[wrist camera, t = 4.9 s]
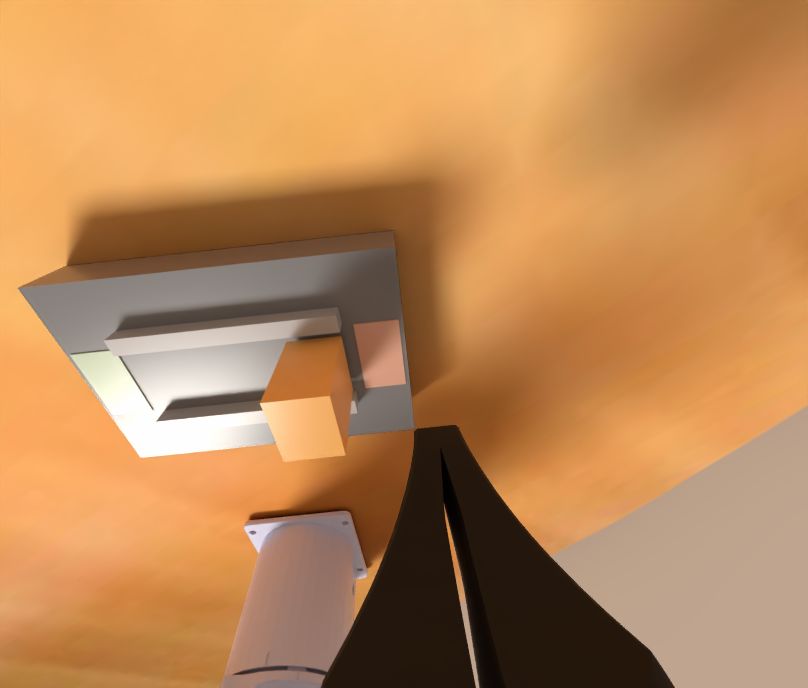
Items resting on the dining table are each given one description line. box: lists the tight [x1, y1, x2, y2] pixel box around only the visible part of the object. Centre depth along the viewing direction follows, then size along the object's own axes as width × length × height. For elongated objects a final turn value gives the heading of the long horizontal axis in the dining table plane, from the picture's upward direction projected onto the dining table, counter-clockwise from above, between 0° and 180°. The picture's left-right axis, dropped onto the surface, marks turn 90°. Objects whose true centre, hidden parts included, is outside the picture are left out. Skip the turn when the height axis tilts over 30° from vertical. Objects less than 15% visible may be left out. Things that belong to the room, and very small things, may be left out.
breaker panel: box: [18, 230, 415, 458], centre depth 17 cm, size 10×15×3 cm, turn 95°
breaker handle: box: [260, 336, 353, 462], centre depth 15 cm, size 3×2×4 cm
